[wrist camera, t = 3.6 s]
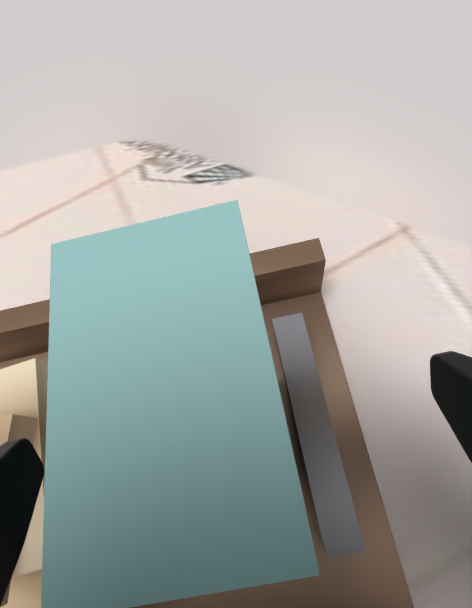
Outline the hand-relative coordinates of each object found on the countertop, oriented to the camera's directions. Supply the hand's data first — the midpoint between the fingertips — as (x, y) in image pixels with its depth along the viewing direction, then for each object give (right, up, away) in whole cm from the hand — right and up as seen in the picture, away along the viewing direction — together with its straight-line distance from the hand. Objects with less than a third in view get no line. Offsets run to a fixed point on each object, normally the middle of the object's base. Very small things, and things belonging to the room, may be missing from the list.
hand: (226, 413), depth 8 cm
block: (+1, -3, +7) cm, 7 cm away
